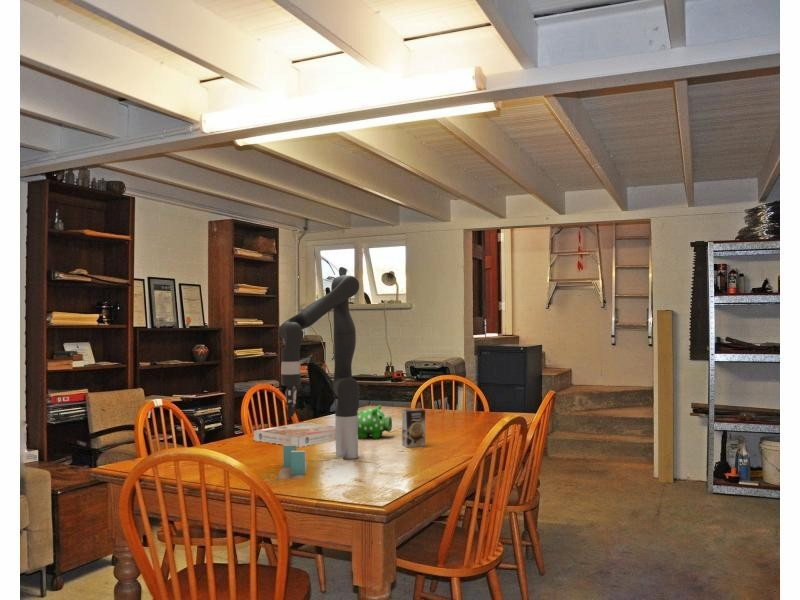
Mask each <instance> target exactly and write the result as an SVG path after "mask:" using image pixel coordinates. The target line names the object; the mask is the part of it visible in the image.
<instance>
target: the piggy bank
mask: <svg viewBox="0 0 800 600" xmlns="http://www.w3.org/2000/svg"><path fill="white" fill-rule="evenodd" d="M381 409H382V404H378V405H377V406H376V407H374V408H373V407H372V408H368V409H363V410H362V411H358V439H363V440H364V439H367V438H369V436H371V438H372V439H374V440H377V439H378V440H379V439H380V437H382V435H383V433H384V432H388V433H389V432H391V431H392V429H393V420H392V416H387V417H386V416H385V414H384V412H383V411H382V410H381Z"/></svg>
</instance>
